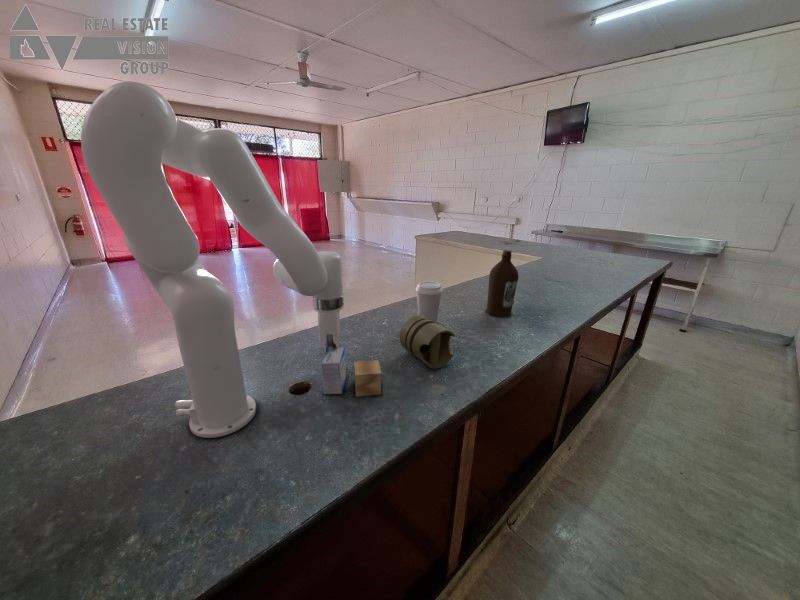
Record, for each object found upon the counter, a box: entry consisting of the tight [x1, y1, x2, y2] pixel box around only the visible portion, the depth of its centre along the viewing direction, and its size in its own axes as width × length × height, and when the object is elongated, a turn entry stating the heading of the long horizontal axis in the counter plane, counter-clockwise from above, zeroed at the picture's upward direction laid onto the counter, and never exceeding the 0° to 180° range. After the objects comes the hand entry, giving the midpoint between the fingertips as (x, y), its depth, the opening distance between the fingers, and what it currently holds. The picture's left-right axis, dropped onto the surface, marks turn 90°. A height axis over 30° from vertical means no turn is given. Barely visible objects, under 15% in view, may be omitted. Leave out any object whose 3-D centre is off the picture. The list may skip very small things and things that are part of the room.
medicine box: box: [321, 346, 347, 395], centre depth 78 cm, size 8×4×9 cm, turn 1°
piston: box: [399, 314, 456, 370], centre depth 90 cm, size 11×12×11 cm
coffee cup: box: [415, 280, 444, 324], centre depth 112 cm, size 10×10×15 cm
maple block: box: [353, 359, 382, 397], centre depth 77 cm, size 6×6×6 cm
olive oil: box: [485, 249, 519, 318], centre depth 122 cm, size 11×11×25 cm
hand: (332, 364), depth 85 cm, fingers closed
